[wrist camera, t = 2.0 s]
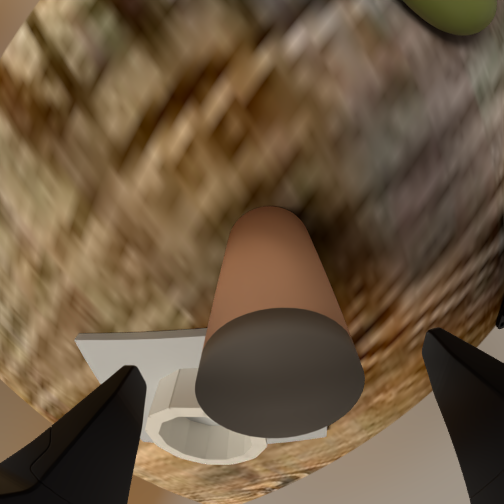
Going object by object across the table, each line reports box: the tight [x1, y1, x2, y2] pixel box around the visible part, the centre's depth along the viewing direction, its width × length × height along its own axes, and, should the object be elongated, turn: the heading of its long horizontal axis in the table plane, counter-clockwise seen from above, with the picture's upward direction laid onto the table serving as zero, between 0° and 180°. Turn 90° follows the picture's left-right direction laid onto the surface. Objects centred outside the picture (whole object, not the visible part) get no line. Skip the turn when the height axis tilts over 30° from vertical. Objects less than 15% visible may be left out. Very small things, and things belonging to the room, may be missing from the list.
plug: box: [195, 206, 365, 438], centre depth 12 cm, size 4×4×10 cm
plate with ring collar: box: [75, 328, 327, 465], centre depth 19 cm, size 18×14×4 cm
